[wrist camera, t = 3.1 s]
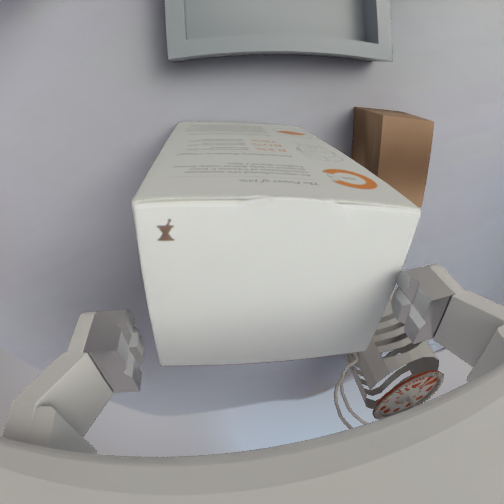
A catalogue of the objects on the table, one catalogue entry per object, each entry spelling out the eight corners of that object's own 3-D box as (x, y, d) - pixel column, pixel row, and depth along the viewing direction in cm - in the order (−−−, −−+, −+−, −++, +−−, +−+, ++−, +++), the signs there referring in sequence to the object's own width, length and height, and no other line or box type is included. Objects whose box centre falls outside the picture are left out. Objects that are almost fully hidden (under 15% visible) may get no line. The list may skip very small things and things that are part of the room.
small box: (177, 212, 21) (154, 370, 10) (176, 120, 18) (123, 195, 7) (292, 213, 22) (369, 354, 11) (303, 125, 19) (428, 205, 8)
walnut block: (353, 106, 18) (382, 115, 15) (400, 111, 19) (434, 121, 15) (348, 187, 22) (373, 209, 18) (393, 186, 22) (421, 207, 19)
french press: (390, 349, 33) (473, 526, 12) (301, 361, 31) (367, 582, 10) (423, 285, 28) (549, 486, 7) (323, 290, 26) (441, 576, 5)
